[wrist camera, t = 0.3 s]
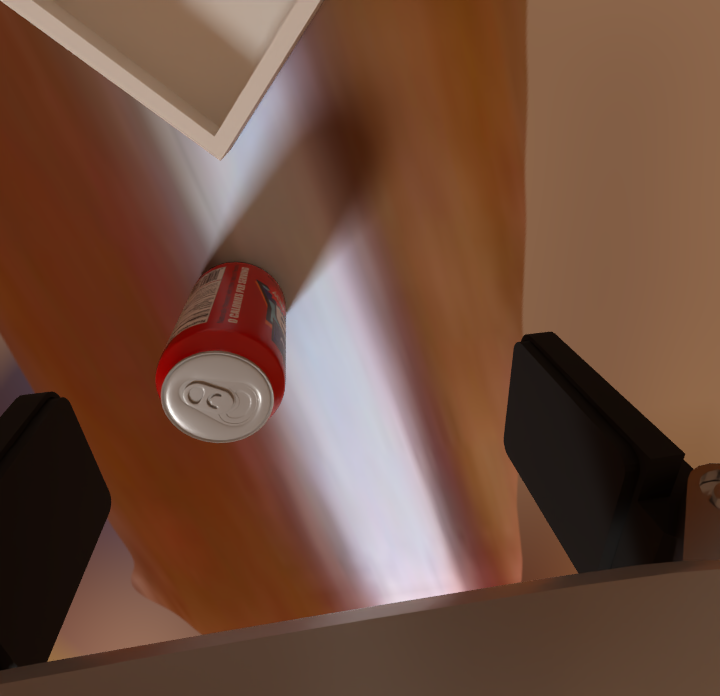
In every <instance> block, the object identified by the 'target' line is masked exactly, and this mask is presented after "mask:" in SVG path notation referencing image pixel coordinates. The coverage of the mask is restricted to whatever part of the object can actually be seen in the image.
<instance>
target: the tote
mask: <svg viewBox="0 0 720 696" xmlns="http://www.w3.org/2000/svg"><path fill="white" fill-rule="evenodd" d="M0 1H2V2H3V3H5V4H6V5H7V6H9V7H10V8H11V9H13V10H14V11H16V12H17V13H18V14H20V15H21V16H22V17H24V18H25V19H26V20H28V21H29V22H31V23H32V24H33V25H35V26H36V27H37V28H39V29H40V30H42V31H43V32H44V33H46V34H47V35H48V36H50V37H51V38H53V39H54V40H55V41H57V42H58V43H59V44H61V45H62V46H64V47H65V48H66V49H68V50H69V51H70V52H72V53H73V54H75V55H76V56H77V57H79V58H80V59H81V60H83V61H84V62H86V63H87V64H88V65H90V66H91V67H92V68H94V69H95V70H96V71H98V72H99V73H101V74H102V75H103V76H105V77H106V78H107V79H109V80H110V81H112V82H113V83H114V84H116V85H117V86H118V87H120V88H121V89H123V90H124V91H125V92H127V93H128V94H129V95H131V96H132V97H134V98H135V99H136V100H138V101H139V102H140V103H142V104H143V105H145V106H146V107H147V108H149V109H150V110H151V111H153V112H154V113H155V114H157V115H158V116H160V117H161V118H162V119H164V120H165V121H166V122H168V123H169V124H171V125H172V126H173V127H175V128H176V129H177V130H179V131H180V132H182V133H183V134H184V135H186V136H187V137H188V138H190V139H191V140H193V141H194V142H195V143H197V144H198V145H199V146H201V147H202V148H204V149H205V150H206V151H208V152H209V153H210V154H212V155H213V156H215V157H216V158H217V159H219V160H220V161H221V160H222V159H223V158H224V156H225V155H226V154H227V153H228V152H229V151H230V150H231V148H232V147H233V145H234V143H235V142H236V140H237V139H238V137H239V135H240V134H241V132H242V131H243V129H244V127H245V126H246V124H247V123H248V121H249V119H250V118H251V116H252V115H253V113H254V111H255V110H256V108H257V107H258V105H259V103H260V102H261V100H262V99H263V97H264V95H265V94H266V92H267V91H268V89H269V87H270V86H271V84H272V83H273V81H274V79H275V78H276V76H277V75H278V73H279V71H280V70H281V68H282V67H283V65H284V63H285V62H286V60H287V59H288V57H289V55H290V54H291V52H292V51H293V49H294V47H295V46H296V44H297V43H298V41H299V39H300V38H301V36H302V35H303V33H304V31H305V30H306V28H307V27H308V25H309V23H310V22H311V20H312V19H313V17H314V15H315V14H316V12H317V11H318V9H319V7H320V6H321V4H322V3H323V1H324V0H0Z"/></svg>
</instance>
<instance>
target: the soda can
mask: <svg viewBox="0 0 720 696" xmlns="http://www.w3.org/2000/svg"><path fill="white" fill-rule="evenodd" d="M285 380H286V304H285V298H284V295H283V292H282V290H281V288H280V286H279V285H278V283H277V282H276V280H275V279H274V278H273V277H272V276H271V275H270V274H268V273H267V272H266V271H264V270H263V269H261V268H259V267H257V266H254V265H251V264H248V263H243V262H228V263H223V264H220V265H217V266H215V267H213V268H211V269H209V270H208V271H207V272H205V273H204V274H203V275H202V276H201V277H200V278H199V279H198V281H197V282H196V284H195V286H194V287H193V289H192V292H191V294H190V296H189V298H188V300H187V302H186V304H185V306H184V309H183V311H182V313H181V315H180V317H179V319H178V321H177V323H176V326H175V328H174V330H173V332H172V334H171V336H170V338H169V340H168V343H167V345H166V347H165V349H164V351H163V353H162V355H161V358H160V360H159V363H158V366H157V370H156V389H157V393H158V396H159V398H160V400H161V402H162V406H163V409H164V411H165V413H166V415H167V417H168V418H169V420H170V421H171V422H172V423H173V424H174V425H175V426H176V427H177V428H178V429H179V430H181V431H182V432H184V433H185V434H187V435H189V436H191V437H193V438H196V439H199V440H202V441H207V442H214V443H226V442H233V441H237V440H241V439H244V438H246V437H248V436H250V435H252V434H254V433H255V432H256V431H258V430H259V429H260V428H261V427H262V426H263V425H264V424H265V423H266V421H267V420H268V419H269V418H270V417H271V416H272V415H273V414H274V413H275V412H276V410H277V409H278V407H279V405H280V403H281V401H282V398H283V395H284V391H285Z"/></svg>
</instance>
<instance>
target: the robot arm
mask: <svg viewBox="0 0 720 696" xmlns="http://www.w3.org/2000/svg"><path fill="white" fill-rule="evenodd" d="M504 446H505V450H506V453H507V455H508V457H509V458H510V460H511V462H512V463H513V465H514V467H515V468H516V470H517V472H518V473H519V475H520V477H521V478H522V480H523V481H524V483H525V485H526V486H527V488H528V490H529V492H530V493H531V495H532V497H533V498H534V500H535V502H536V503H537V505H538V506H539V508H540V510H541V512H542V513H543V515H544V517H545V518H546V520H547V522H548V523H549V525H550V527H551V528H552V530H553V532H554V533H555V535H556V537H557V538H558V540H559V542H560V543H561V545H562V546H563V548H564V550H565V551H566V553H567V555H568V557H569V558H570V560H571V562H572V563H573V565H574V567H575V568H576V570H577V571H578V573H579V574H574V575H566V576H560V577H552V578H545V579H539V580H533V581H527V582H521V583H514V584H508V585H502V586H496V587H490V588H483V589H477V590H471V591H465V592H459V593H453V594H446V595H440V596H434V597H428V598H422V599H416V600H409V601H403V602H397V603H391V604H385V605H379V606H373V607H367V608H361V609H355V610H349V611H343V612H337V613H331V614H325V615H319V616H313V617H307V618H301V619H295V620H289V621H283V622H277V623H271V624H265V625H259V626H254V627H248V628H242V629H236V630H230V631H224V632H218V633H212V634H206V635H200V636H195V637H189V638H183V639H177V640H171V641H166V642H160V643H154V644H148V645H142V646H137V647H131V648H126V649H119V650H114V651H108V652H102V653H96V654H90V655H85V656H79V657H74V658H67V659H62V660H57V661H51V662H47V661H48V658H49V656H50V653H51V651H52V648H53V646H54V643H55V641H56V639H57V636H58V634H59V632H60V629H61V627H62V625H63V622H64V620H65V617H66V615H67V613H68V610H69V608H70V605H71V603H72V600H73V598H74V596H75V593H76V591H77V588H78V586H79V584H80V581H81V579H82V576H83V574H84V572H85V569H86V567H87V565H88V562H89V560H90V557H91V555H92V553H93V550H94V548H95V545H96V543H97V541H98V538H99V536H100V533H101V531H102V529H103V526H104V524H105V522H106V519H107V517H108V514H109V512H110V508H111V496H110V493H109V490H108V488H107V486H106V483H105V481H104V479H103V477H102V474H101V472H100V470H99V467H98V465H97V463H96V461H95V458H94V456H93V454H92V452H91V449H90V447H89V445H88V443H87V440H86V438H85V436H84V433H83V431H82V429H81V427H80V424H79V422H78V420H77V418H76V415H75V413H74V411H73V408H72V406H71V404H70V402H69V401H68V400H67V399H66V398H64V397H62V398H60V397H59V395H58V394H56V393H55V392H44V393H36V394H28V395H22V396H19V397H18V398H16V399H15V401H14V402H13V403H12V404H11V405H10V406H9V408H8V409H7V410H6V411H5V412H4V413H3V415H2V416H1V417H0V696H720V464H719V463H717V464H716V463H709V464H705V465H701V466H698V467H697V468H695V469H693V468H692V467H691V466H690V465H689V464H688V463H687V462H685V461H684V460H683V459H684V456H685V453H684V452H683V451H682V450H681V449H679V448H678V447H677V446H676V445H675V444H674V443H673V442H672V441H671V440H670V439H668V437H666V436H665V435H664V434H663V433H662V432H661V431H660V430H659V429H658V428H657V427H656V426H655V425H653V424H652V423H651V422H650V421H649V420H648V419H647V418H646V417H644V415H642V414H641V413H640V412H639V411H638V410H637V409H636V408H635V407H634V406H633V405H632V404H631V403H630V402H628V401H627V400H626V399H625V398H624V397H623V396H622V395H621V394H620V393H619V392H618V391H617V390H615V389H614V388H613V387H612V386H611V385H610V384H609V383H608V382H607V381H606V380H605V379H604V378H602V377H601V376H600V375H599V374H598V373H597V372H596V371H595V370H594V369H593V368H592V367H590V366H589V365H588V364H587V363H586V362H585V361H584V360H583V359H582V358H581V357H580V356H579V355H577V354H576V353H575V352H574V351H573V350H572V349H571V348H570V347H569V346H568V345H567V344H566V343H564V342H563V341H562V340H561V339H560V338H559V337H558V336H557V335H556V334H555V333H553V332H544V333H535V334H527V335H524V336H523V338H522V340H521V342H517V343H516V344H515V346H514V351H513V360H512V369H511V378H510V387H509V396H508V405H507V414H506V423H505V432H504Z"/></svg>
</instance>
